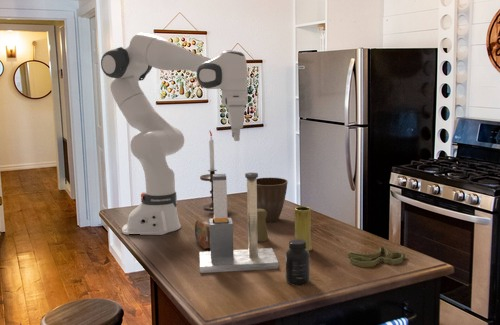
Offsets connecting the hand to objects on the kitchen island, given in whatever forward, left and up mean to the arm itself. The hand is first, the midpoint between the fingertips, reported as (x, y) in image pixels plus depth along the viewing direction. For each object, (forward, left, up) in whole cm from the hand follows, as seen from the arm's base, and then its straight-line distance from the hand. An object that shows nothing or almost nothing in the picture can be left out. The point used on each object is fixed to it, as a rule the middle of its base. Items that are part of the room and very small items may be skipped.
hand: (235, 139), depth 193 cm
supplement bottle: (+14, -40, -37) cm, 56 cm away
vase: (+21, -12, -37) cm, 44 cm away
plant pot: (+15, +27, -37) cm, 48 cm away
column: (-7, -22, -28) cm, 37 cm away
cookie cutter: (+42, -26, -38) cm, 62 cm away
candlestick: (-7, +50, -37) cm, 63 cm away
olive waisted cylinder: (+8, +2, -37) cm, 38 cm away
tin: (-12, -2, -37) cm, 39 cm away
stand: (-2, -22, -37) cm, 43 cm away
